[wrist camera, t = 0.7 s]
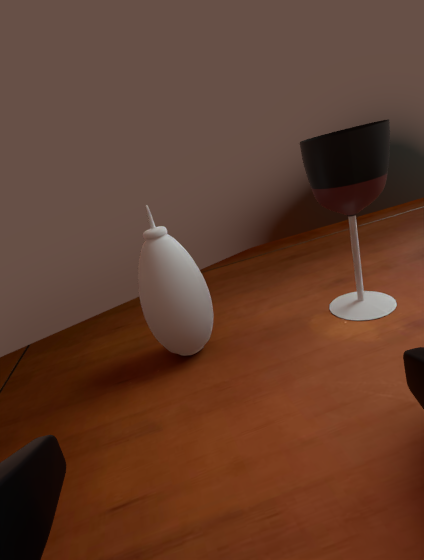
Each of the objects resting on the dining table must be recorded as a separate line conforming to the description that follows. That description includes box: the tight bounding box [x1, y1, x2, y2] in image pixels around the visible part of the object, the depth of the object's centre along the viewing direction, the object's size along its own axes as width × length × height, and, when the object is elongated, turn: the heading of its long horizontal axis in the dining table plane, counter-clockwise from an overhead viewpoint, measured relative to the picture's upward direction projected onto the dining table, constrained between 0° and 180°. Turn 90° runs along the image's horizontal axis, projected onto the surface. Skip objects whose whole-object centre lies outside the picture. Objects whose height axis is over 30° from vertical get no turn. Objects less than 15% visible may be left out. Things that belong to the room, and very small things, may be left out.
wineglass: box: [300, 120, 397, 321], centre depth 39 cm, size 8×9×20 cm
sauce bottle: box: [138, 205, 213, 356], centre depth 39 cm, size 8×8×18 cm
